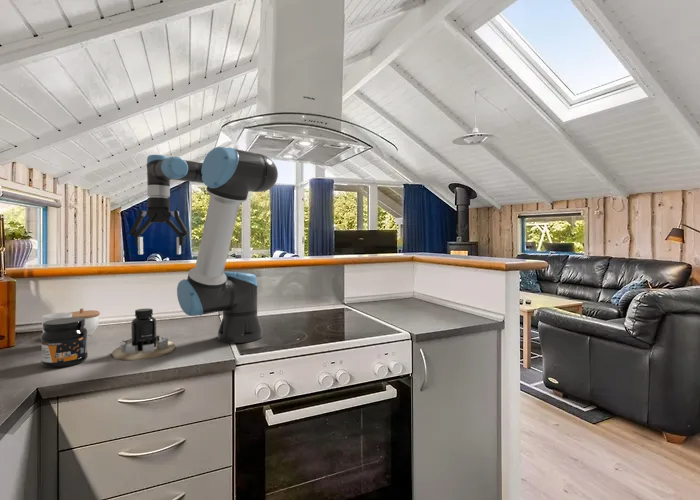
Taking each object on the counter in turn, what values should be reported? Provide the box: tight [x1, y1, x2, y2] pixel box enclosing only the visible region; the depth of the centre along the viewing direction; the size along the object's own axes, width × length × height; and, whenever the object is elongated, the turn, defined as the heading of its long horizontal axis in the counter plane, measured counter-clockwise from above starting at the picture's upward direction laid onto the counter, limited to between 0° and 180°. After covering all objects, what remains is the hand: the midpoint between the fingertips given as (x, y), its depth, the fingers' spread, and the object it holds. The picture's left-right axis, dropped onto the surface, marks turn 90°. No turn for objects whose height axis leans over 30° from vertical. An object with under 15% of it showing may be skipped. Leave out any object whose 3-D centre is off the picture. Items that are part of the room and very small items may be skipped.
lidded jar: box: [70, 308, 101, 336], centre depth 137 cm, size 11×11×9 cm
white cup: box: [41, 312, 72, 333], centre depth 123 cm, size 8×8×10 cm
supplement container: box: [40, 317, 89, 369], centre depth 107 cm, size 10×10×12 cm
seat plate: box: [112, 340, 176, 361], centre depth 118 cm, size 17×17×1 cm
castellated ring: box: [119, 334, 169, 355], centre depth 118 cm, size 13×13×2 cm
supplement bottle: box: [130, 307, 157, 351], centre depth 117 cm, size 7×7×12 cm
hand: (159, 254), depth 143 cm, fingers open, 13 cm apart
